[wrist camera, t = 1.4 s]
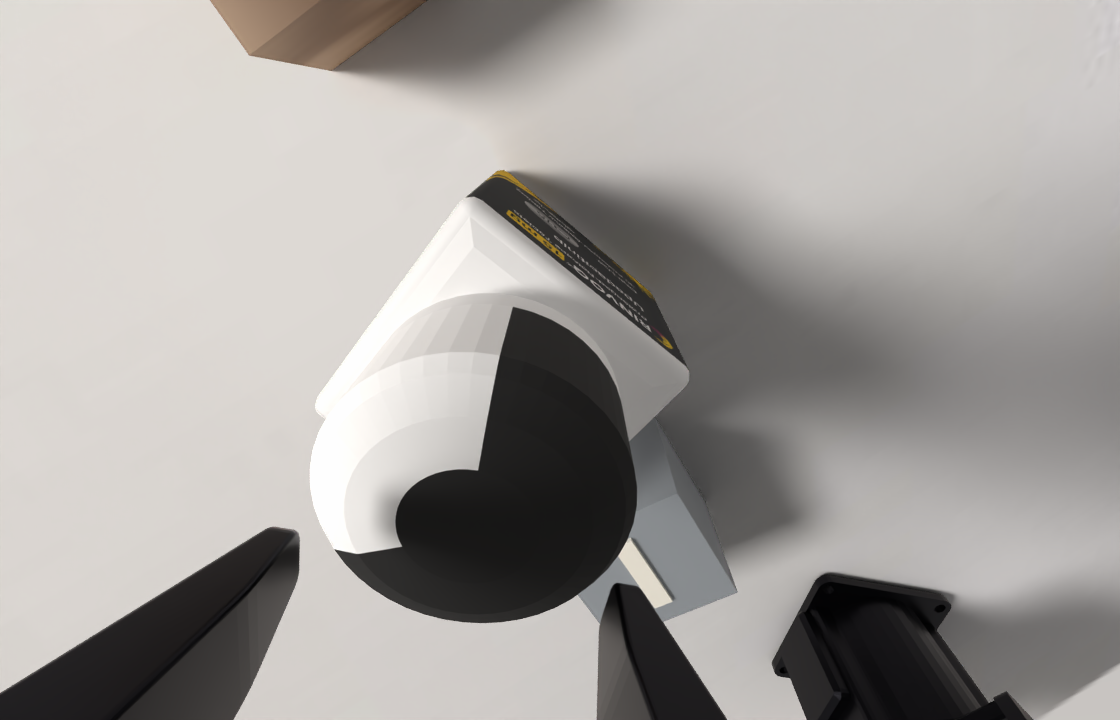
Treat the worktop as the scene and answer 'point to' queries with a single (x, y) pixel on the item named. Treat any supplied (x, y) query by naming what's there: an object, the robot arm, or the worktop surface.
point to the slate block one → (666, 537)
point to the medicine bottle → (493, 416)
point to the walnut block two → (311, 27)
